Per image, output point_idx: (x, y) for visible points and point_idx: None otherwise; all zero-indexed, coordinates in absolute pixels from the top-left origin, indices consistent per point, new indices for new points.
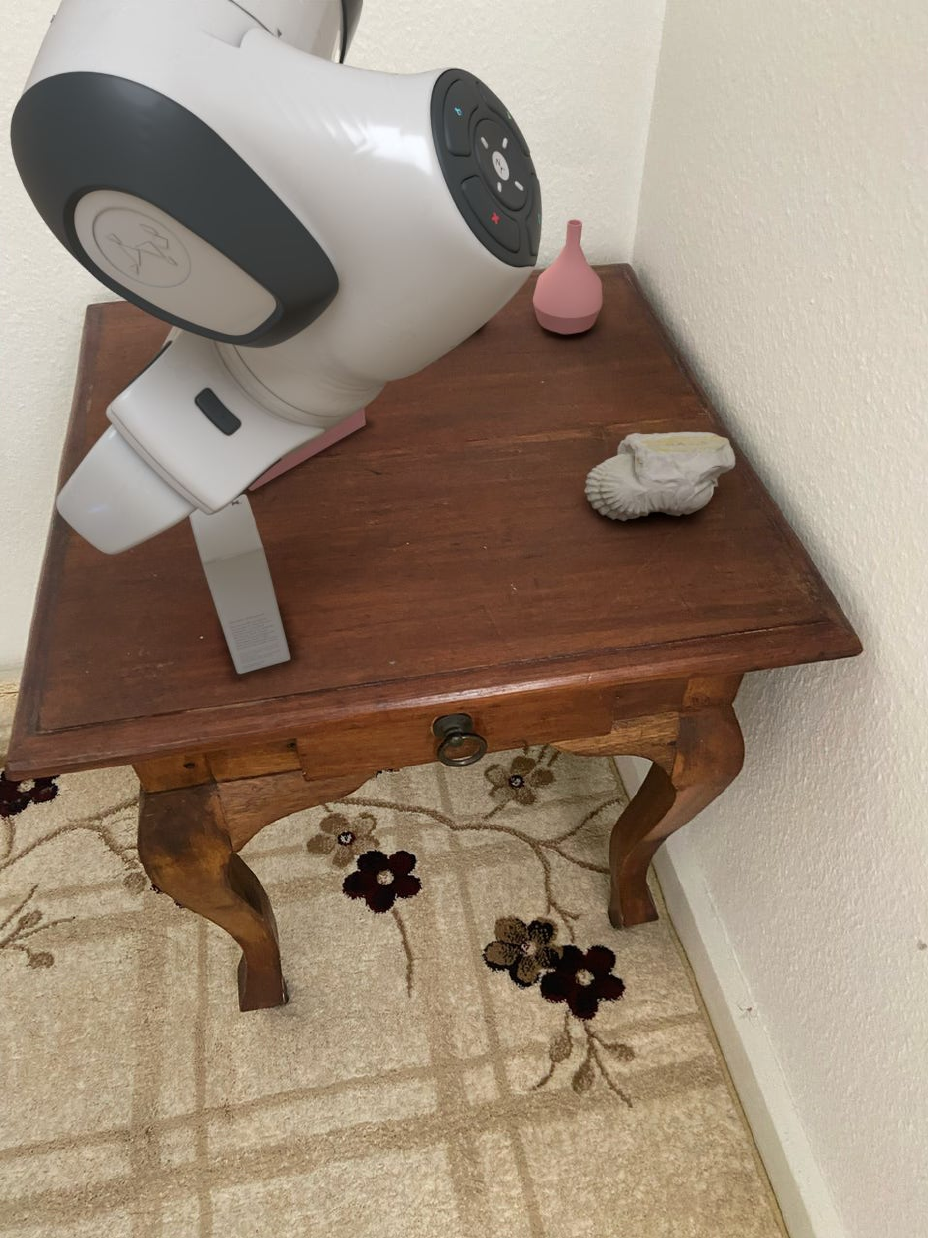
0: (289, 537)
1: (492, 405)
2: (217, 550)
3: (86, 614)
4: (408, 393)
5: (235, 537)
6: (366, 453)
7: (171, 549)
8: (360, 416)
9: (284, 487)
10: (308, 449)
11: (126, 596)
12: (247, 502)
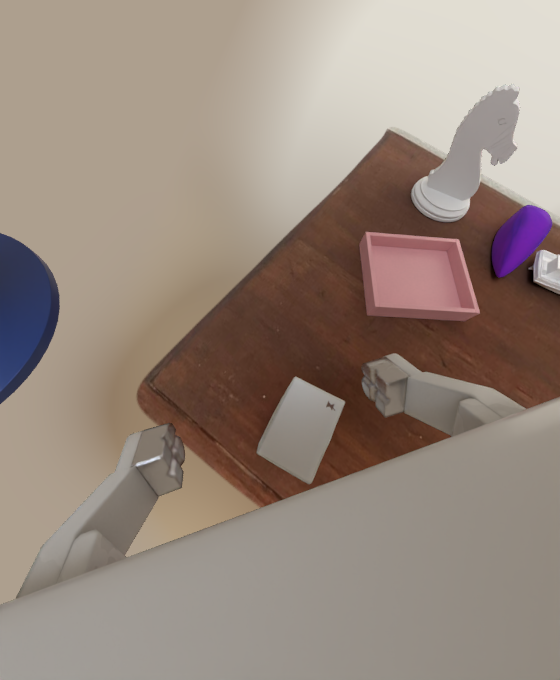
0: (360, 367)
1: (555, 373)
2: (277, 451)
3: (229, 325)
4: (507, 318)
5: (300, 449)
6: (449, 343)
7: (298, 319)
8: (468, 317)
9: (385, 328)
10: (419, 315)
11: (254, 331)
12: (339, 413)
